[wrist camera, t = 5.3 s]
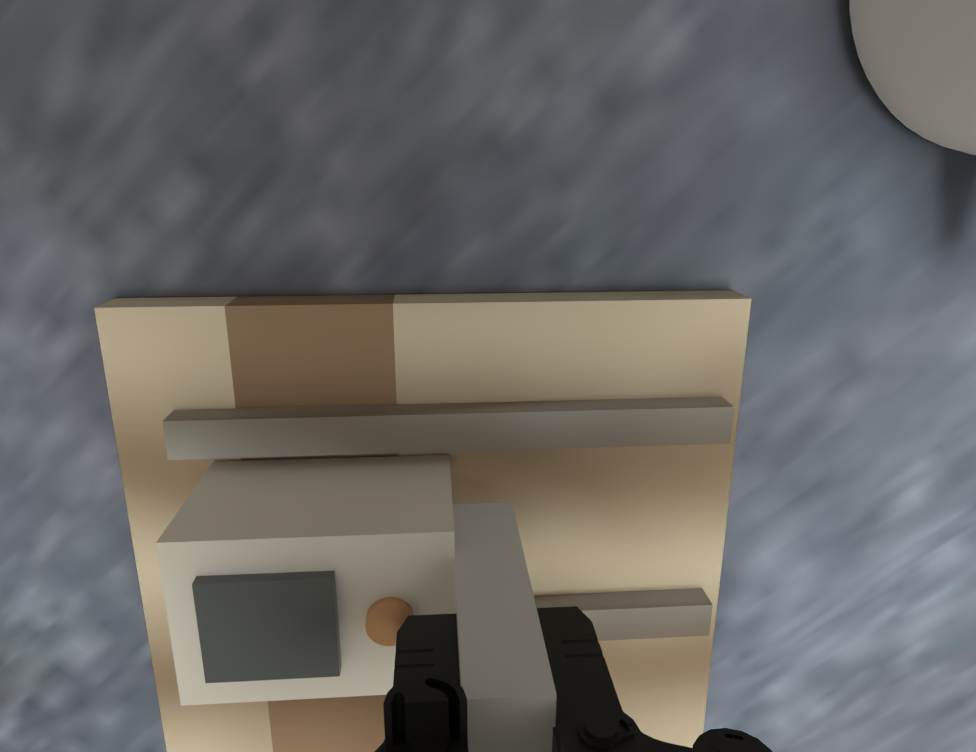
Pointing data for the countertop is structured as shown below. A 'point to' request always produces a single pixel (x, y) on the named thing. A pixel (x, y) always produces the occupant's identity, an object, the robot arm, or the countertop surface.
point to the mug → (922, 64)
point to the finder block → (304, 574)
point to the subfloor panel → (457, 458)
